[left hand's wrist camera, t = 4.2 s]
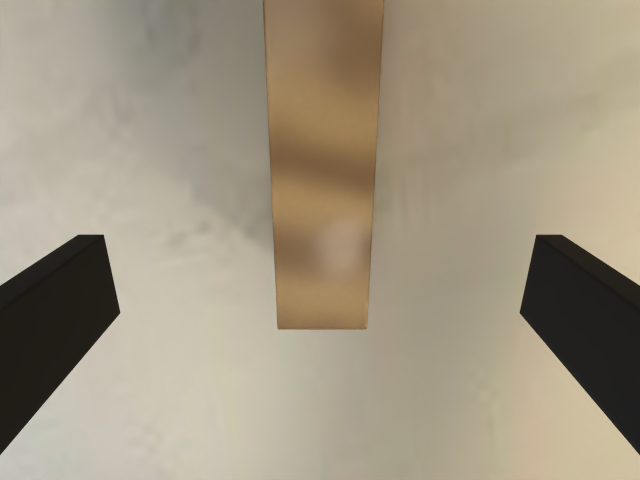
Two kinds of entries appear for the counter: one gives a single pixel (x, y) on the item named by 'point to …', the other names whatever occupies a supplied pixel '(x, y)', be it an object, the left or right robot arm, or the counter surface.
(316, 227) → the bar
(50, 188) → the counter surface
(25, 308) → the left robot arm
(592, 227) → the counter surface
